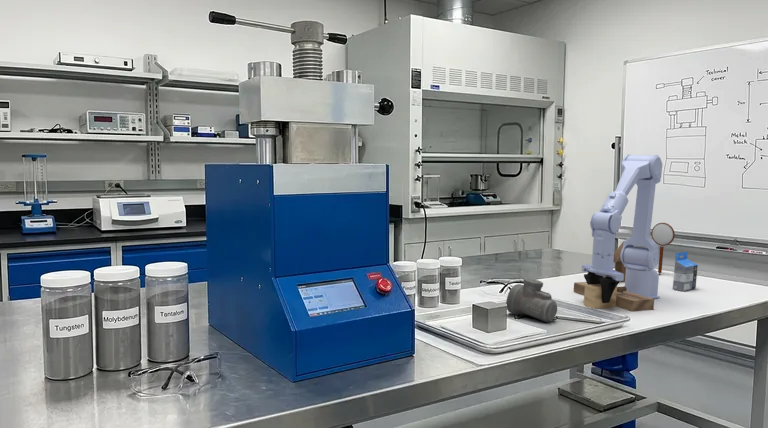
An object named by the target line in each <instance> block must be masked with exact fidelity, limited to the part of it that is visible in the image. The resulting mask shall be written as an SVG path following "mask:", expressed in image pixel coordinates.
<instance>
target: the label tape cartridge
mask: <svg viewBox="0 0 768 428" xmlns="http://www.w3.org/2000/svg"><path fill="white" fill-rule="evenodd" d="M674 255H675V257H674V258H675V259H674V261H675V262H674V268H673V269H674V270H673V283H672V290H673V289H674V290H673V291H677V290H678V291H679V292H683V291H684V292H687V290H688V291H692V290H695V288H696V287H697V277H698V264H697V263H695V262H694V261H691V260H690V259H688V255H689V254H688V251H682V252H676V253H675V254H674ZM681 256H682V257H681ZM691 289H692V290H691Z"/></svg>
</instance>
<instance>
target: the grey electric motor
mask: <svg viewBox="0 0 768 428" xmlns="http://www.w3.org/2000/svg"><path fill="white" fill-rule="evenodd" d="M522 283H523V284H521V283H516V284H514V285H513V286H512V287H511V288H510V289H509V291H508V293H507V297H506V302H505V305H506V304H507V308H506V310H507V312H508V313H510V314H512V315H515V316H516V315H517V316H518V315H521V314H524V315H527V316H529V317H532V318H534V319H537V320H540V321H542V322H545V323H550V322H551V321H553V319H555V317H556V315H557V313H558V305H557V302H556V301H555V300H554V299H552V295H551V293H550V292H546V291H544V290H542V288H543V287H544V282H543V281H541V280H538V279H535V278H530V277H525V278H523V282H522Z"/></svg>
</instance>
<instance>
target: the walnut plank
mask: <svg viewBox="0 0 768 428" xmlns="http://www.w3.org/2000/svg"><path fill="white" fill-rule="evenodd" d="M585 285H588V284H587V282H586V281H581V282H580V281H579V282H577V281H575V282H574V283H573V292H574V293H575V294H579V295H581V296H584V292H585ZM616 307H618V308H621V309H623V310H626V311H627V310H628V311H629V312H638V311H640V312H641V311H649V310H650V311H651V310H654V308H655V298H649V297H645V296H642V295H639V294H635V293H632V292H628V291H623V293H621V292H617V295H616Z"/></svg>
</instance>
